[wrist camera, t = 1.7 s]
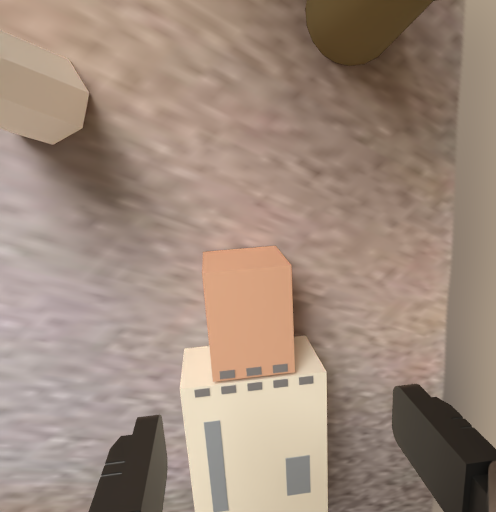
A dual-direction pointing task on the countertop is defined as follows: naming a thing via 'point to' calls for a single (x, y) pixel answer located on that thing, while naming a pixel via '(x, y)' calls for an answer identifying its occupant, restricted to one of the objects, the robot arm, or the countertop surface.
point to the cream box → (257, 436)
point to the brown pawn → (359, 26)
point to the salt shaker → (39, 92)
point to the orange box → (249, 312)
